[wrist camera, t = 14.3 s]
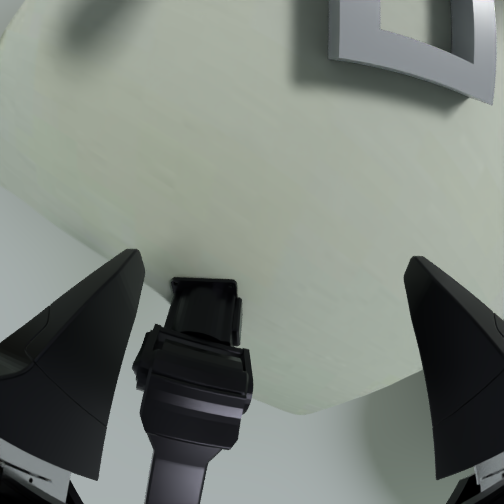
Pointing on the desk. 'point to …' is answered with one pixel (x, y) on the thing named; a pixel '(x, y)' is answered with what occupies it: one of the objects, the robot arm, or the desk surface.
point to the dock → (420, 46)
